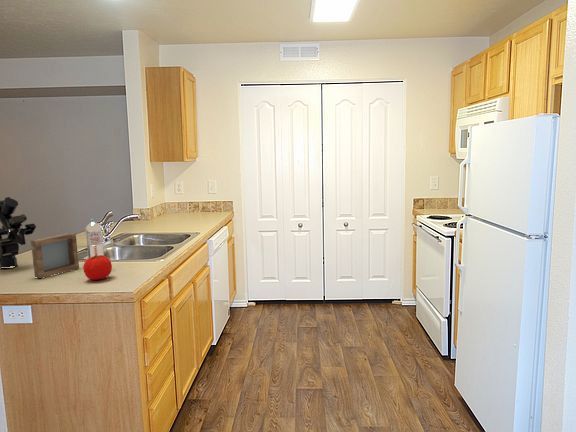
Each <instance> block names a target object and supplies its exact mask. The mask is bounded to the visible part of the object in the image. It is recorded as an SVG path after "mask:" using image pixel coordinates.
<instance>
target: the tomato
mask: <svg viewBox="0 0 576 432" xmlns="http://www.w3.org/2000/svg"><path fill="white" fill-rule="evenodd" d="M103 255H104V254H103ZM103 255H99V256H97V254H96V255H95V256H92V257H90V258H88V257H87V259H86V260H85V261H84V263H83V265H82V266H83V273H84V275H85V276H86V278H87V279H88V280H92V281H97V280H99V281H100V280H103V279H106V278H107V277H109V275H110V274H111V273H112V271H113V265H112V262H111V260H110V259H109V257H108V256H105V255H104V256H103Z"/></svg>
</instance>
